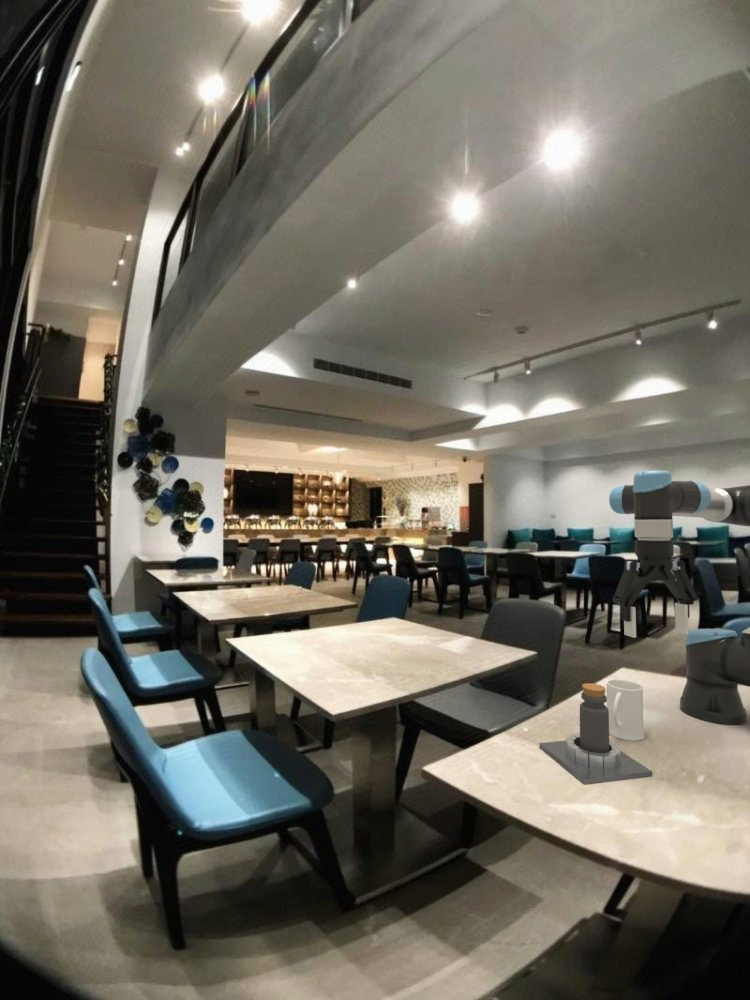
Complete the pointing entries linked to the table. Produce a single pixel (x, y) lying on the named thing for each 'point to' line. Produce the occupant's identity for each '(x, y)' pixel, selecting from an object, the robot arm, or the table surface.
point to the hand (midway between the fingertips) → (656, 634)
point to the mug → (625, 710)
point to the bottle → (594, 719)
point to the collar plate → (594, 772)
